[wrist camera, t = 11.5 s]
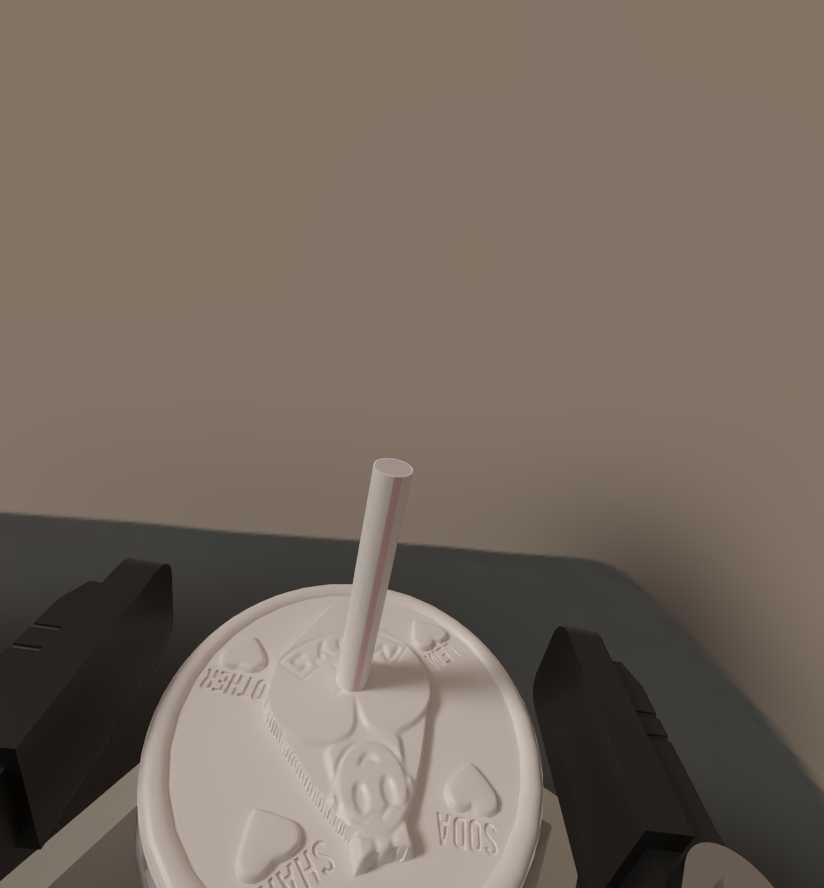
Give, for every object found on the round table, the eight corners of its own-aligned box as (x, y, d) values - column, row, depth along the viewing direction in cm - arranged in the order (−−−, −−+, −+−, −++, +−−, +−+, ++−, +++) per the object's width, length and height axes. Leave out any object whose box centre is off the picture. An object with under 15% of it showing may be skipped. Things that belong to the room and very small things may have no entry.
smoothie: (391, 798, 15) (503, 411, 10) (469, 1128, 10) (829, 671, 4) (179, 850, 13) (165, 385, 7) (122, 1317, 7) (-90, 870, 2)
